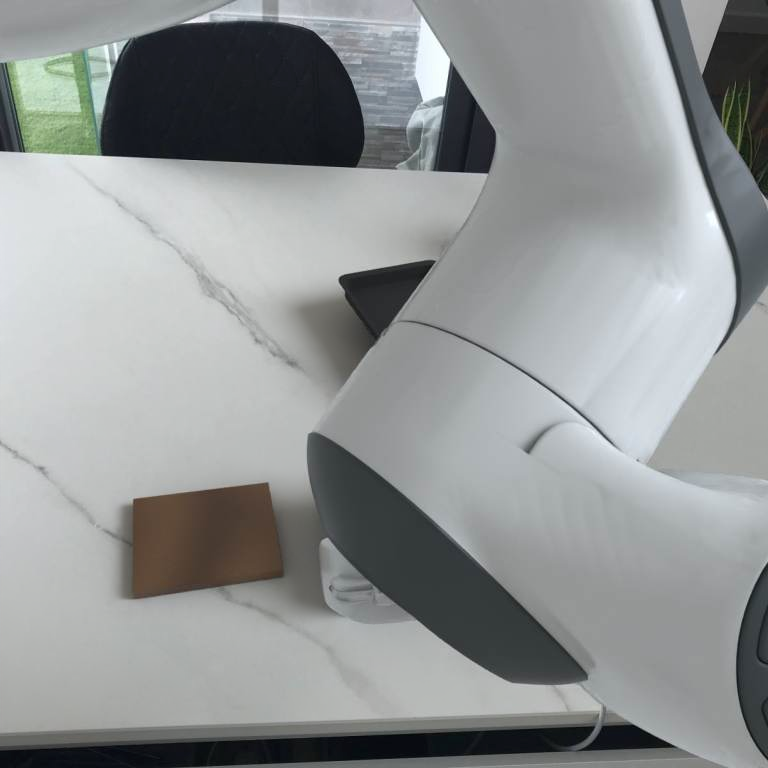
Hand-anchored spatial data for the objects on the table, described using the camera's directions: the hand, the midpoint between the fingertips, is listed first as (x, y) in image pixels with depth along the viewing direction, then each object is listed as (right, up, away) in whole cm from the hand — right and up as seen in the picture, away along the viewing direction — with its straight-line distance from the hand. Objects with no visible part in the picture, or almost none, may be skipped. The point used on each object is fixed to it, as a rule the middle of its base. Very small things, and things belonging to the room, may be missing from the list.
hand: (468, 535), depth 48 cm
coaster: (-21, -4, +19) cm, 28 cm away
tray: (+2, +12, +42) cm, 44 cm away
